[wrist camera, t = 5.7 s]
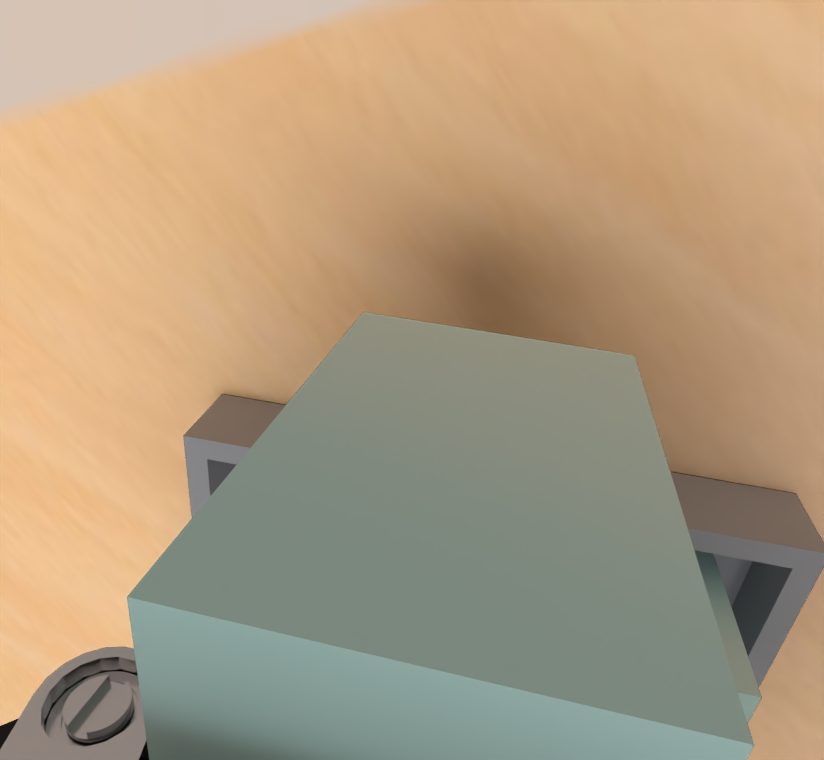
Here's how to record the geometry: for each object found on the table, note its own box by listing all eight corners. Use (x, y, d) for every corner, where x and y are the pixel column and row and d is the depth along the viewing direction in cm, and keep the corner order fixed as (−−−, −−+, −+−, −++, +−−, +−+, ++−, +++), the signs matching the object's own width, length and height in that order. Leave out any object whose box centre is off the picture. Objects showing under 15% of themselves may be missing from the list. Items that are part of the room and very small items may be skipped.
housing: (796, 493, 22) (909, 694, 15) (691, 713, 28) (740, 931, 21) (222, 394, 24) (96, 528, 18) (236, 614, 30) (146, 780, 23)
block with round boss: (634, 354, 9) (801, 900, 3) (534, 724, 13) (518, 1320, 6) (363, 311, 10) (42, 699, 4) (339, 676, 13) (157, 1185, 7)
